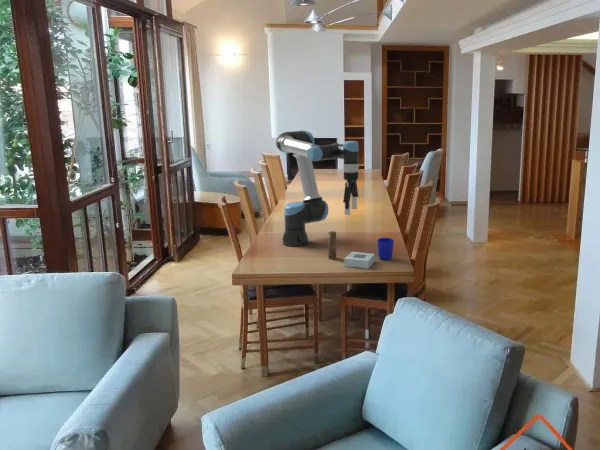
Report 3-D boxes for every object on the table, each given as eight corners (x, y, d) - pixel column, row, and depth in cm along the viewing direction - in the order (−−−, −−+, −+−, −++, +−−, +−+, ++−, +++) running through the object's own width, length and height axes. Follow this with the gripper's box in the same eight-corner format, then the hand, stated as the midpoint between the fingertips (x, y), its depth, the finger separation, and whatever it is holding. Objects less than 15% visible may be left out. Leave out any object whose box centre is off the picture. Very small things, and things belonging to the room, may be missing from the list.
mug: (389, 253, 273) (390, 235, 270) (394, 260, 261) (395, 241, 259) (374, 254, 273) (374, 236, 270) (378, 261, 261) (378, 242, 258)
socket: (344, 266, 255) (344, 258, 254) (352, 259, 266) (352, 251, 265) (368, 268, 250) (368, 260, 249) (374, 261, 261) (374, 253, 260)
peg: (327, 258, 267) (327, 232, 263) (330, 256, 270) (329, 231, 267) (334, 259, 265) (334, 233, 262) (337, 257, 269) (337, 231, 265)
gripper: (351, 175, 252) (351, 217, 257) (363, 168, 274) (363, 207, 280) (337, 175, 254) (337, 216, 260) (350, 167, 277) (350, 206, 282)
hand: (350, 211), depth 270 cm, fingers open, 13 cm apart
